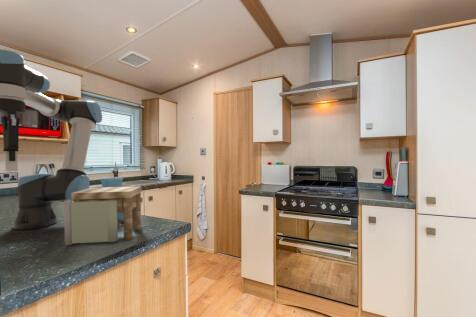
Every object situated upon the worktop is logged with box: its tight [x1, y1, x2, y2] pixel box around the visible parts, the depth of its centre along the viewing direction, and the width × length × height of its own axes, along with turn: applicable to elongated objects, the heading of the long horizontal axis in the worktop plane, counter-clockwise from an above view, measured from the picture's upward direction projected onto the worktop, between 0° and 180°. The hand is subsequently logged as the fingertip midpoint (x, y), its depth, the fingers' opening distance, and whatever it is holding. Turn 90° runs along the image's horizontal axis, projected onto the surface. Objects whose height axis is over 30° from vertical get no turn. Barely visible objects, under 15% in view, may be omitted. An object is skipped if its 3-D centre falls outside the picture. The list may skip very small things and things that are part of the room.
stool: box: [71, 185, 143, 241], centre depth 91 cm, size 20×14×18 cm
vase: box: [99, 177, 124, 222], centre depth 114 cm, size 8×8×20 cm
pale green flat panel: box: [63, 200, 119, 246], centre depth 82 cm, size 17×3×15 cm, turn 96°
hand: (11, 171), depth 77 cm, fingers closed
